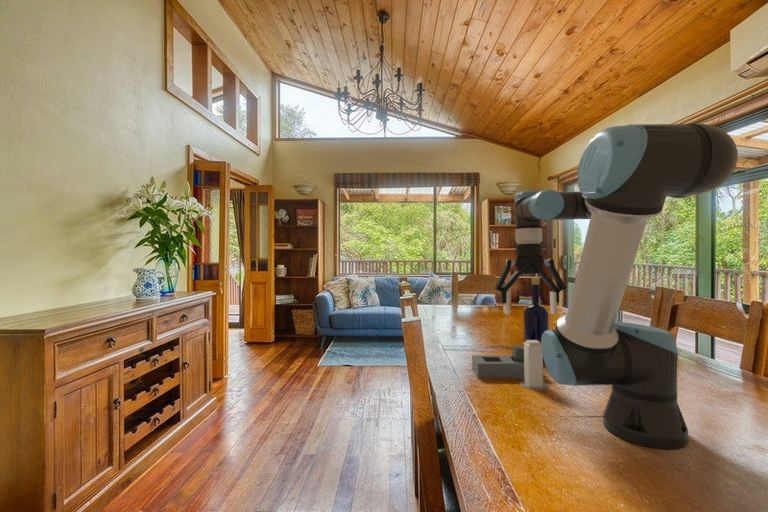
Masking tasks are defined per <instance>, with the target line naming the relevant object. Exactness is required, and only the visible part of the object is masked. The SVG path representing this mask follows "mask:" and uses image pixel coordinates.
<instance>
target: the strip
mask: <svg viewBox="0 0 768 512" xmlns="http://www.w3.org/2000/svg"><path fill="white" fill-rule="evenodd" d="M471 365H472V366H471V371H473V373H474V375H475V376H476V378H477V379H524V344H523V345H522V344H514V345H513V344H512V345H511V355H510V354H507V355H505V354H503V355H502V354H501V355H500V354H499V355H498V354H497V355H495V354H493V355H492V354H490V355H488V354H487V355H486V354H485V355H484V354H483V355H477V354H476V355H475V354H474V355H471Z"/></svg>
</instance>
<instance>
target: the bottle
mask: <svg viewBox="0 0 768 512" xmlns="http://www.w3.org/2000/svg"><path fill="white" fill-rule="evenodd" d="M530 287H531V304H530V305H527V306H526V307H525V308H524V309H523V343H524V342H526V340H537V341H539V342H540V343H541V338H542V334H543V333H544V332H545V331H547V330H549V311H548V309H547V308H546V307H545V306H544V305H541V304H540V288H541V284H540V277H531V284H530ZM543 365H545V362H544V359H543Z"/></svg>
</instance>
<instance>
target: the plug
mask: <svg viewBox="0 0 768 512" xmlns="http://www.w3.org/2000/svg"><path fill="white" fill-rule="evenodd" d="M523 345H524V378H523V380H524V383H525V384H526V385H527V386H528V387H543V383H544V364H543V354H542V347H541V343H540V342H539V341H537V340H526V342H524V341H523Z"/></svg>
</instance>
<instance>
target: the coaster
mask: <svg viewBox="0 0 768 512" xmlns="http://www.w3.org/2000/svg"><path fill="white" fill-rule="evenodd" d="M518 385H519V386H521V387H523V388H524V389H528V390H533V391H544V390H547V389H549V384H547V383H545V382H543V387H528V386H527V385H526V384H525V383H524V379H522V380H521V381H519V382H518Z"/></svg>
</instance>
